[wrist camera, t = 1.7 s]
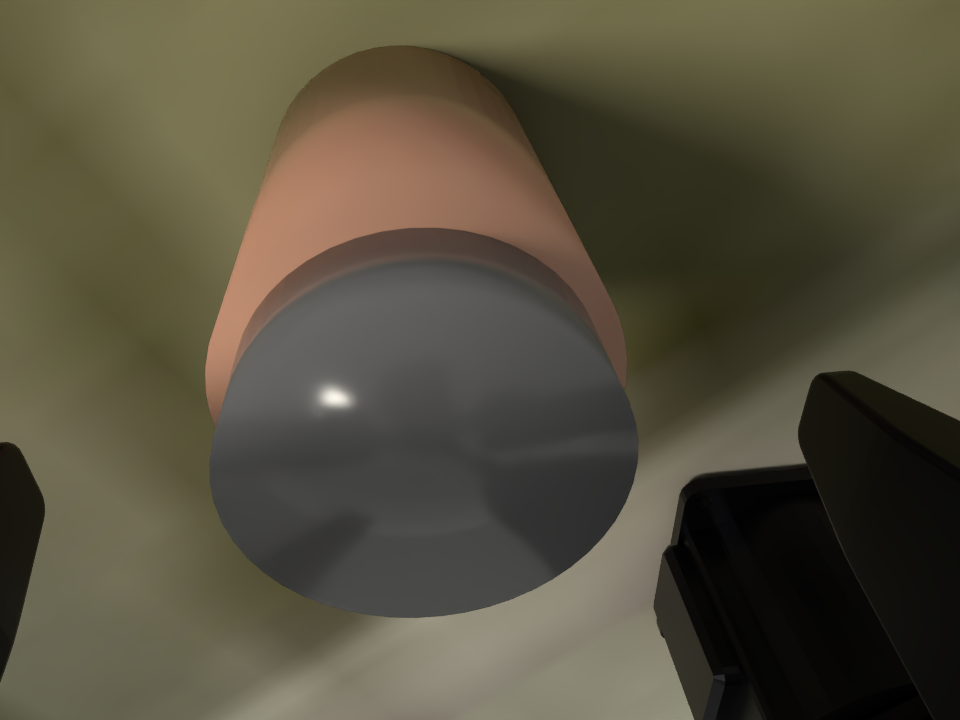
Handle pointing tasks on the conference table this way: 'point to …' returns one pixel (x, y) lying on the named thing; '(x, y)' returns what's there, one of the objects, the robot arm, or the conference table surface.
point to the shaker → (414, 353)
